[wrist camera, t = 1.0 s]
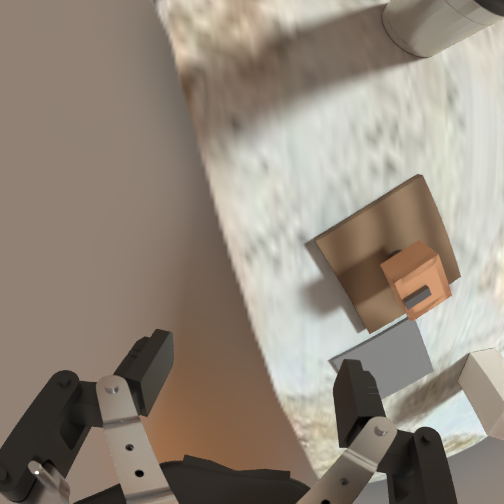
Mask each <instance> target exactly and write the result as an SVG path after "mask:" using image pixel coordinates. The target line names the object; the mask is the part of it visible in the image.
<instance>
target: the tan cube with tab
mask: <svg viewBox="0 0 504 504" xmlns="http://www.w3.org/2000/svg"><path fill="white" fill-rule="evenodd" d="M380 266H381V268H382V270H383V272H384V274H385V276H386V278H387V280H388V282H389V284H390V287H391V289H392V291H393V293H394V295H395V297H396V300H397V301H398V303H399V304H400V306H401V307H402V309H403V310H404V312H405V313H406V315H407V316H408V318H409V320H410V321H411V322H412V321H413V320H415V319H417V318H418V317H420V316H421V315H423V314H424V313H426V312H428V311H429V310H431V309H432V308H434V307H435V306H437V305H438V304H440V303H441V302H443V301H444V300H446V299H447V298H448V297H450V296H451V295H452V294H451V290H450V287H449V284H448V281H447V278H446V275H445V272H444V269H443V266H442V263H441V260H440V257H439V254H438V253H436V252H435V251H434V250H432V249H431V248H430V247H428V246H427V245H426V244H424V243H423V242H422V241H420V240H418V241H416V242H415V243H413V244H412V245H410V246H409V247H407V248H405V249H404V250H402V251H401V252H399V253H398V254H396V255H394V256H393V257H391V258H390V259H388V260H386V261H385V262H383V263H382V264H380Z"/></svg>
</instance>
